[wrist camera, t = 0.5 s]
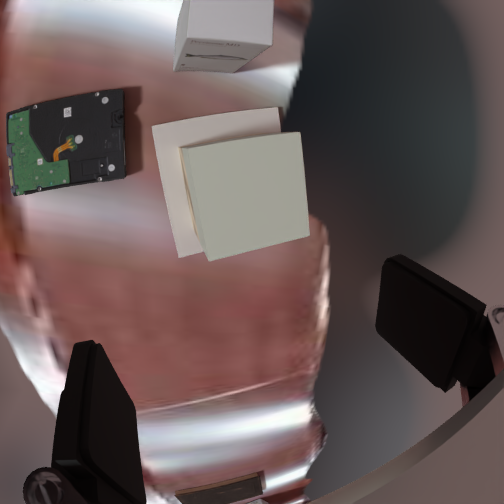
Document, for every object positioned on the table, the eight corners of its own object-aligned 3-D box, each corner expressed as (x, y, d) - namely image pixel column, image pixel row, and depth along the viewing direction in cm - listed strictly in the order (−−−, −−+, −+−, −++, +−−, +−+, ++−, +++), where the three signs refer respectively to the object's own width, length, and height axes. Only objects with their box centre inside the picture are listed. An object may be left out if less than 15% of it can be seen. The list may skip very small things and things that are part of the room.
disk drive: (124, 90, 29) (13, 114, 24) (123, 86, 26) (4, 112, 22) (128, 176, 33) (19, 195, 28) (126, 178, 30) (10, 199, 26)
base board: (151, 126, 31) (151, 126, 30) (274, 107, 34) (277, 107, 33) (178, 254, 37) (178, 257, 36) (288, 227, 41) (291, 229, 40)
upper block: (181, 147, 27) (187, 148, 23) (278, 132, 30) (300, 131, 25) (200, 243, 31) (209, 261, 27) (288, 222, 34) (309, 235, 29)
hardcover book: (173, 489, 58) (174, 495, 56) (256, 469, 64) (259, 476, 62) (188, 506, 64) (190, 512, 62) (260, 489, 70) (263, 494, 68)
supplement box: (171, 72, 29) (182, 38, 18) (177, 19, 27) (192, -33, 15) (233, 75, 31) (274, 47, 20) (237, 23, 29) (276, -21, 18)
